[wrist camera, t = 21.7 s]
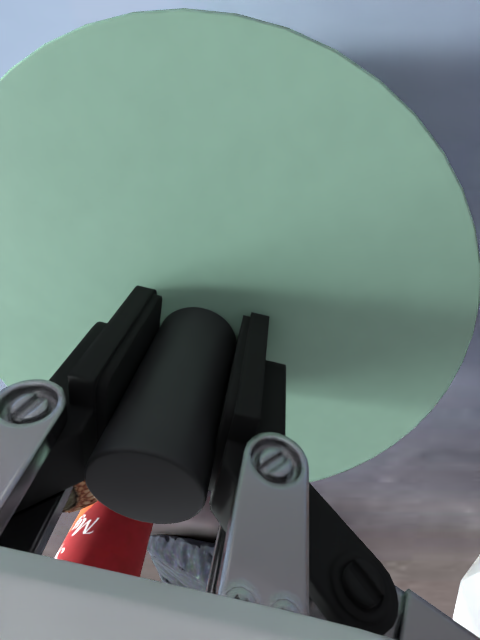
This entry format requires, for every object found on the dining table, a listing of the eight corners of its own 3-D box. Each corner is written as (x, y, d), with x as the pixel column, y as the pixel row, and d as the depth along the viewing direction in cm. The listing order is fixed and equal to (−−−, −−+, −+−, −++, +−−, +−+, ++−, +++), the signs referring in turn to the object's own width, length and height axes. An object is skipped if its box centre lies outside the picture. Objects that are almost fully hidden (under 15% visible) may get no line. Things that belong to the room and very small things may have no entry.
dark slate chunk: (290, 529, 33) (290, 591, 29) (306, 626, 44) (308, 680, 40) (132, 524, 35) (112, 580, 31) (186, 617, 47) (176, 666, 43)
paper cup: (84, 455, 30) (-47, 691, 18) (174, 475, 30) (102, 723, 18) (87, 505, 34) (-17, 721, 23) (166, 523, 34) (103, 747, 23)
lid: (-148, 120, 10) (-617, 156, 5) (497, -106, 6) (1295, -844, 1) (98, 475, 18) (21, 633, 13) (448, 458, 14) (536, 664, 9)
